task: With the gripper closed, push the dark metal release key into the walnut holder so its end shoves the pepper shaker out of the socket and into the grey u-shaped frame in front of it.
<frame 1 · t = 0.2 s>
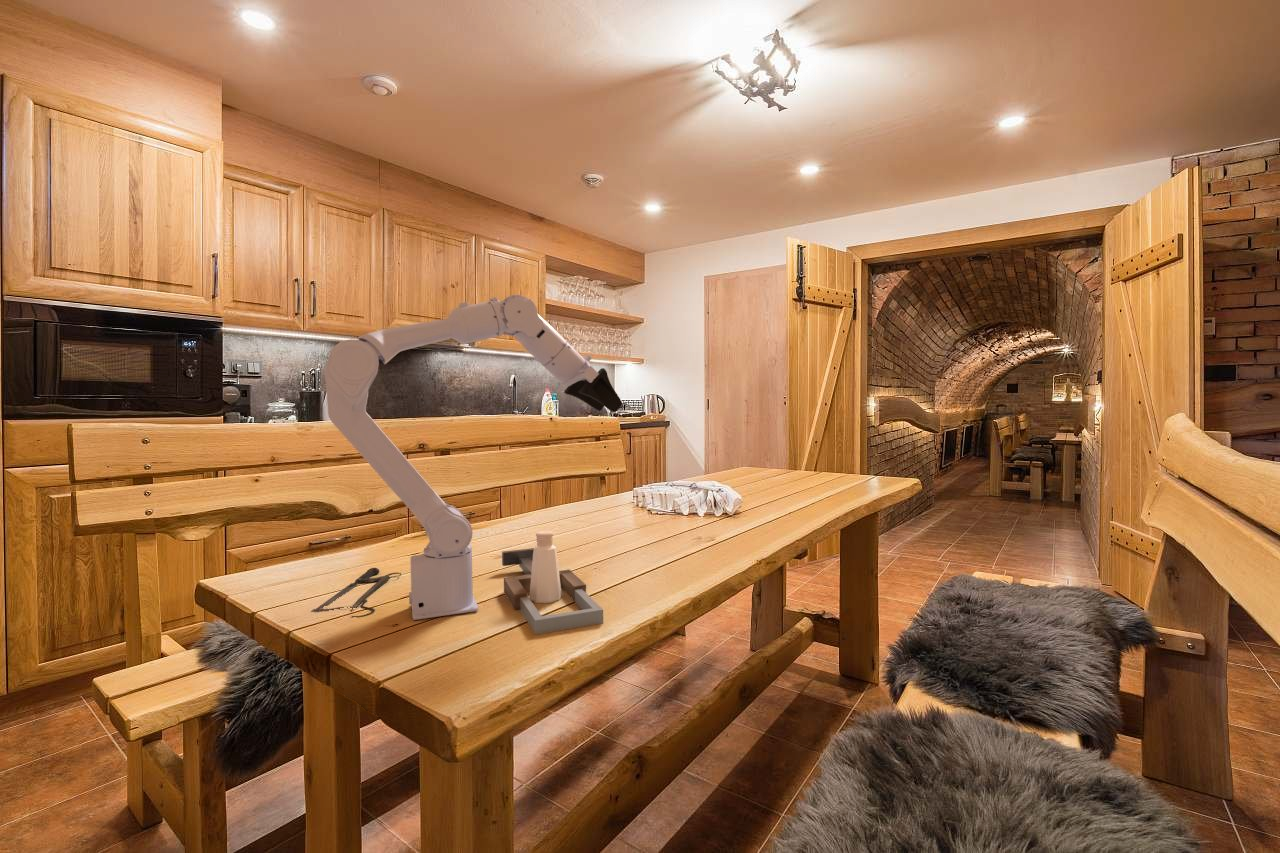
hand: (610, 407, 101), 31 cm above the table, tool tilted 45°, fingers open, 7 cm apart
holder: (545, 597, 95), on the table
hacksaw: (369, 595, 99), on the table
grey u-shaped frame: (560, 616, 86), on the table
release key: (530, 565, 105), point 3 cm above the table, slide at 10.5 cm
pepper shaker: (545, 599, 95), on the table
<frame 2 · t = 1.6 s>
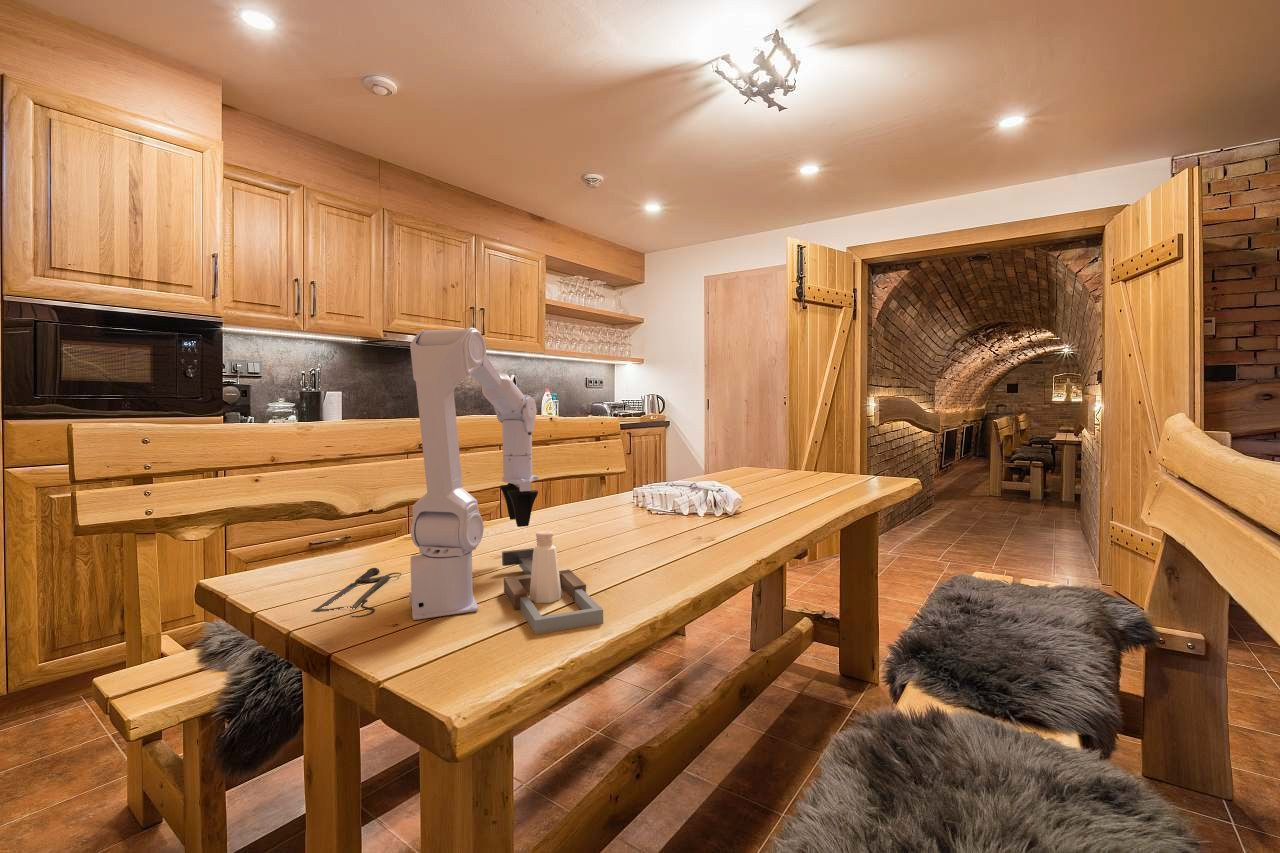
hand: (518, 522, 114), 8 cm above the table, tool pointing down, fingers open, 7 cm apart
nothing on the table moved.
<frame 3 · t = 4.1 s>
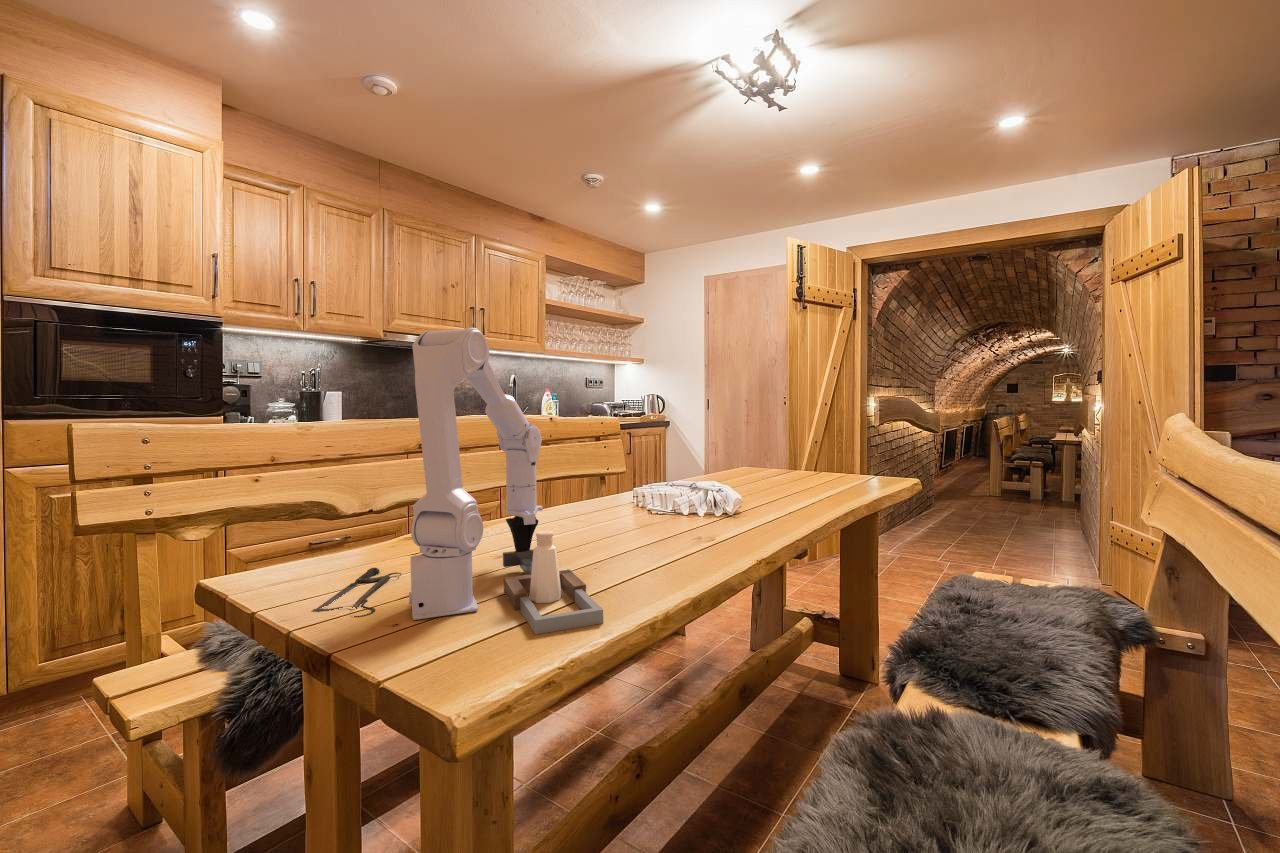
hand: (522, 554, 111), 3 cm above the table, tool pointing down, fingers closed
release key: (531, 566, 104), point 3 cm above the table, slide at 9.7 cm, touching gripper
everything else where it was.
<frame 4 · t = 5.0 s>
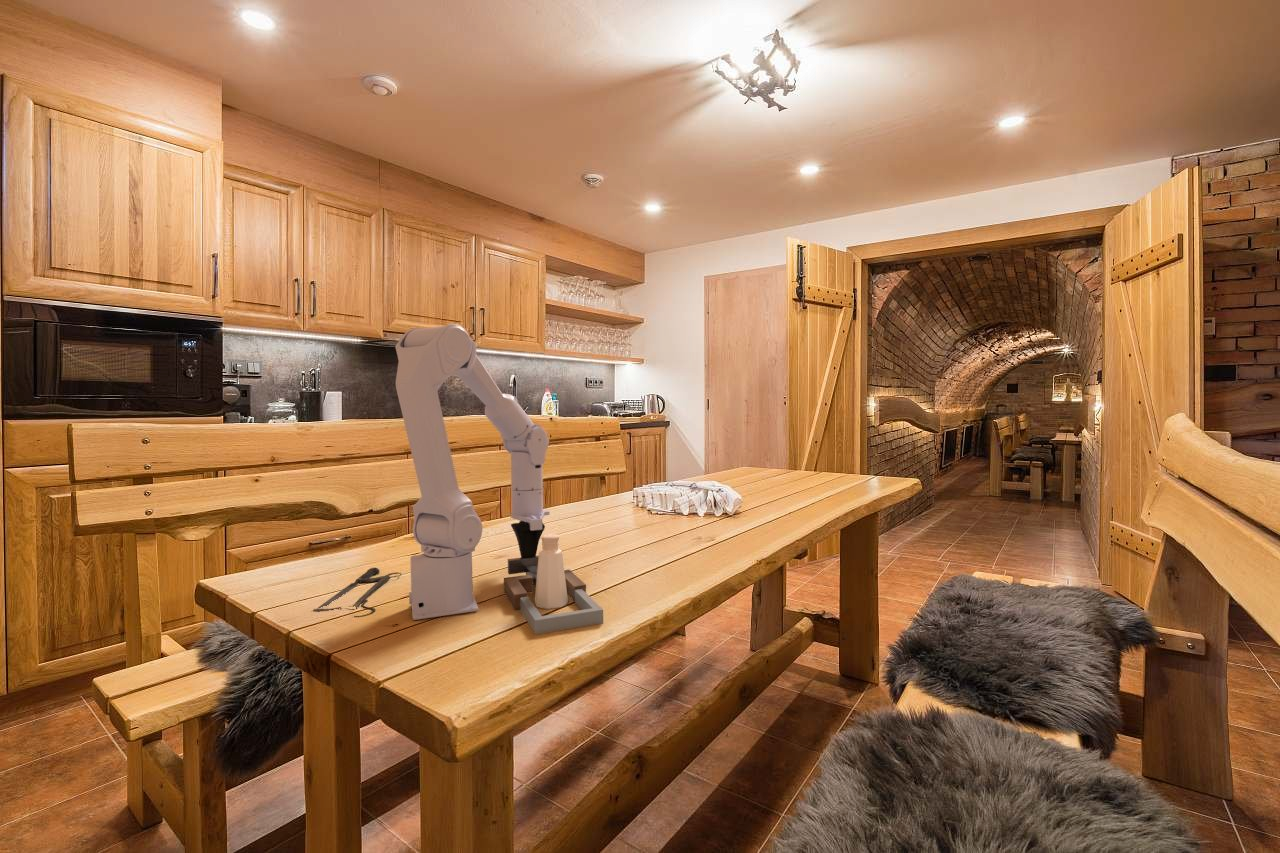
hand: (528, 561, 106), 3 cm above the table, tool pointing down, fingers closed
release key: (538, 574, 99), point 3 cm above the table, slide at 4.5 cm, touching gripper, pepper shaker
pepper shaker: (551, 604, 92), on the table, touching release key
everything else where it was.
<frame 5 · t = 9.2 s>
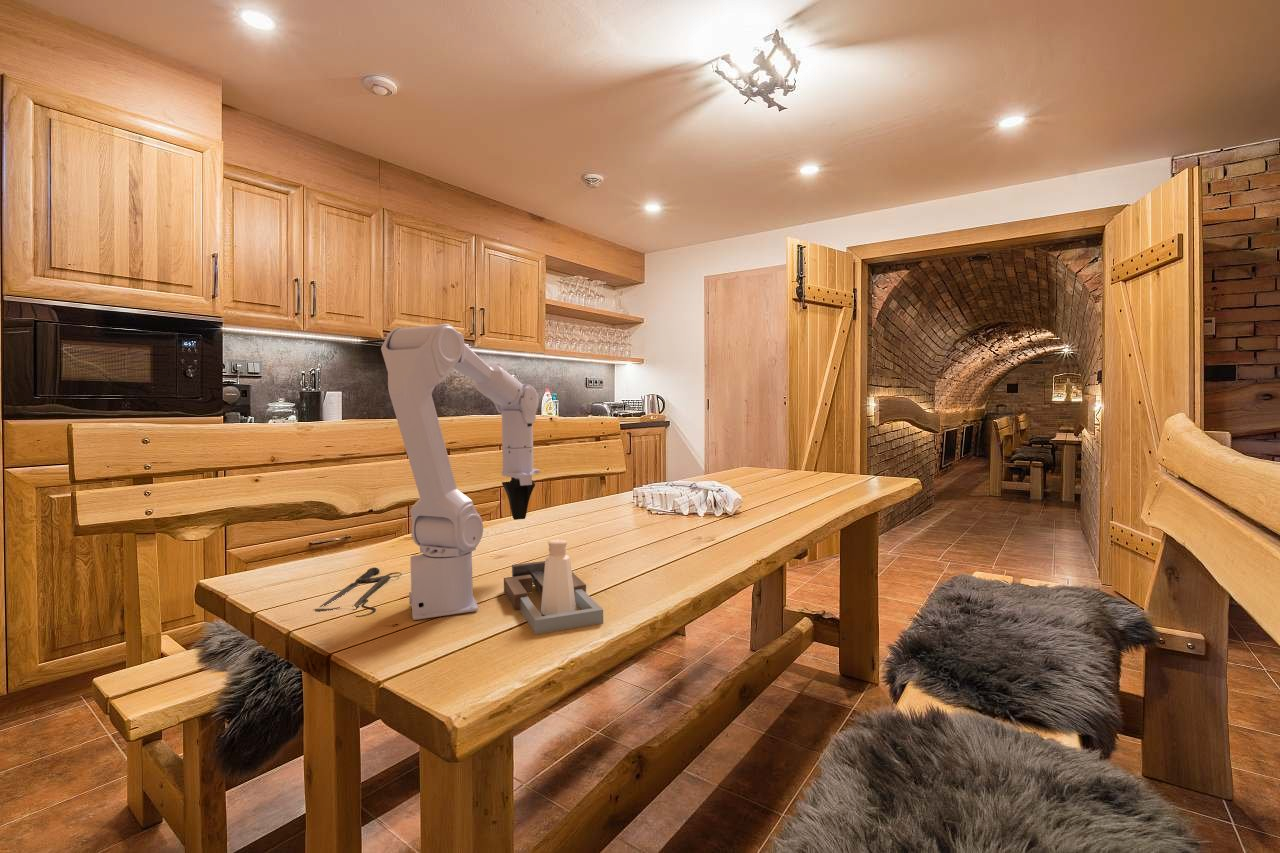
hand: (519, 518, 109), 10 cm above the table, tool pointing down, fingers closed
release key: (544, 580, 95), point 3 cm above the table, slide at 0.4 cm
pepper shaker: (558, 612, 88), on the table
everything else where it was.
at the end: release key slide at 0.4 cm; pepper shaker 2.3 cm off-centre on the grey u-shaped frame, point 0.0 cm above the grey u-shaped frame's base; pepper shaker tilted 0° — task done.
